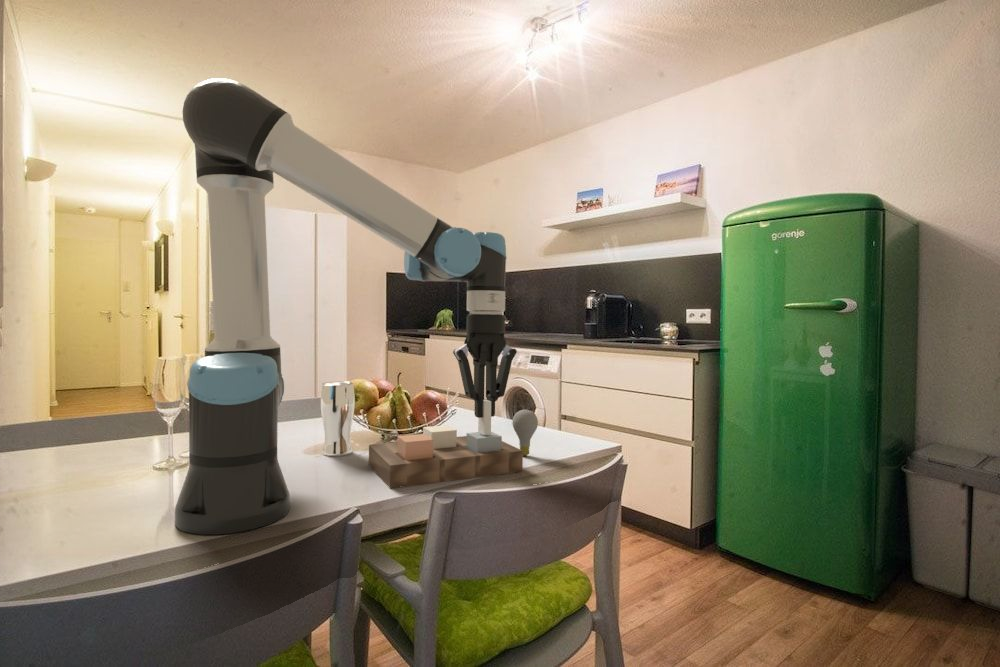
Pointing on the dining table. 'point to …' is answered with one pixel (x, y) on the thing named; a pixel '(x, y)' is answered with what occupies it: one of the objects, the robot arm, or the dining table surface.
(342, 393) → the beer glass
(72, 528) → the dining table surface
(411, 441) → the key terracotta
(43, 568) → the dining table surface
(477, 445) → the key slate
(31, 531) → the dining table surface
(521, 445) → the light bulb
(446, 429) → the key ivory
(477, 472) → the brown wooden base
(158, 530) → the dining table surface
